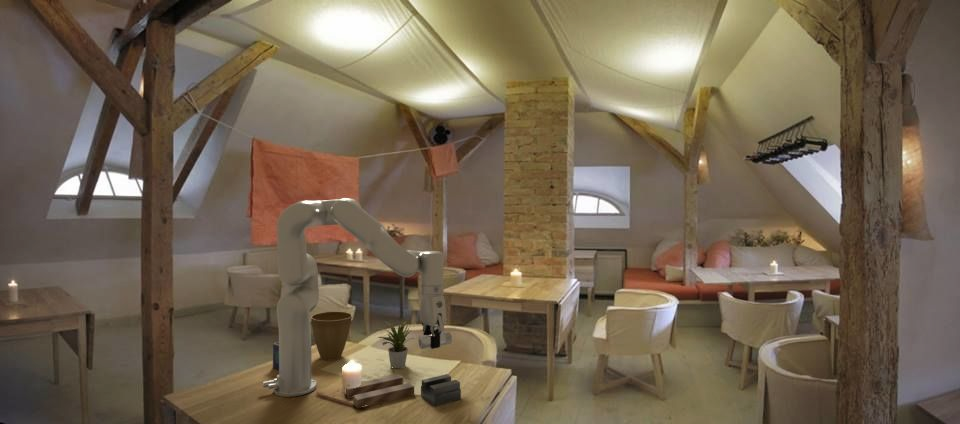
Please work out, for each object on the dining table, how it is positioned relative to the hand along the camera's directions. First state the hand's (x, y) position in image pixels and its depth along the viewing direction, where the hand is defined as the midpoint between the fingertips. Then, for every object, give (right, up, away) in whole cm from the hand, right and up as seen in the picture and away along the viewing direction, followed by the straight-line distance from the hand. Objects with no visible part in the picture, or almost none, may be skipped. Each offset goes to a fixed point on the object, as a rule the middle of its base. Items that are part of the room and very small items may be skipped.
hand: (431, 345), depth 149 cm
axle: (+2, 0, 0) cm, 2 cm away
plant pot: (-41, -13, +27) cm, 51 cm away
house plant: (-15, -13, +19) cm, 28 cm away
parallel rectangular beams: (-16, -13, -6) cm, 22 cm away
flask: (-54, -13, +14) cm, 57 cm away
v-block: (+4, -14, -8) cm, 16 cm away
